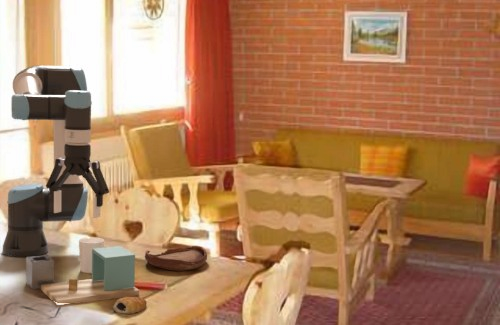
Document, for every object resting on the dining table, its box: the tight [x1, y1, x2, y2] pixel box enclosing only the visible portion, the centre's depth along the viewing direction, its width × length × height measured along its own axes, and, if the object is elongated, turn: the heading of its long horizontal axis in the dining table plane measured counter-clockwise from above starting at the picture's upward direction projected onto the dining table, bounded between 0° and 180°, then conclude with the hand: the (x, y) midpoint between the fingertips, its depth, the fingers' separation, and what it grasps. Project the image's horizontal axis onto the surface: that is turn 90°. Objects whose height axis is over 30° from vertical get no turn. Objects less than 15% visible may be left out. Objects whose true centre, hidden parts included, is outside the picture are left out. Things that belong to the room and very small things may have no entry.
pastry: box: [112, 296, 148, 315], centre depth 210 cm, size 9×7×4 cm
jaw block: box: [25, 254, 55, 290], centre depth 228 cm, size 6×6×8 cm
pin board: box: [40, 277, 140, 304], centre depth 223 cm, size 16×24×4 cm, turn 121°
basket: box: [144, 245, 208, 272], centre depth 258 cm, size 22×20×5 cm
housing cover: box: [91, 245, 136, 291], centre depth 226 cm, size 11×9×10 cm
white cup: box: [78, 236, 105, 274], centre depth 245 cm, size 8×8×10 cm
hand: (76, 214), depth 227 cm, fingers open, 13 cm apart
